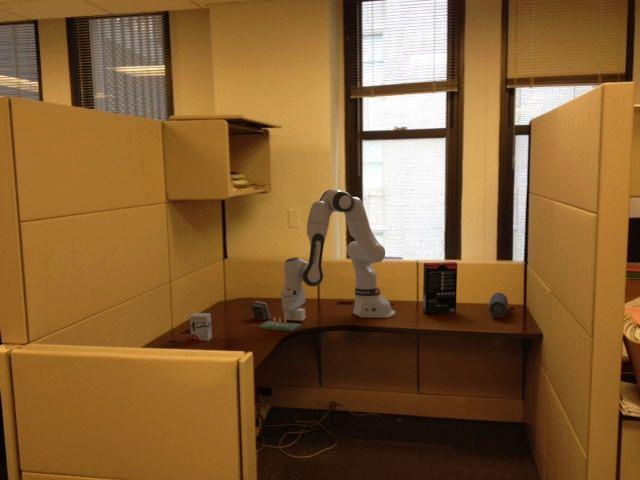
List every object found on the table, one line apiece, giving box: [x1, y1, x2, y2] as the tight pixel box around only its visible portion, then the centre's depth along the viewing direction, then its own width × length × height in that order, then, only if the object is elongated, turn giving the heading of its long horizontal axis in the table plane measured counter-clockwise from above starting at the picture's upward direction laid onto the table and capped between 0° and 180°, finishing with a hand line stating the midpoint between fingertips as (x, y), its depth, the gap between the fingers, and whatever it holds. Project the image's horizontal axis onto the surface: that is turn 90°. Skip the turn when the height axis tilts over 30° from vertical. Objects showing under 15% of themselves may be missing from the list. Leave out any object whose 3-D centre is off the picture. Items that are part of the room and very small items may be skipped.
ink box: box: [189, 312, 213, 342], centre depth 267 cm, size 8×5×12 cm, turn 81°
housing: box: [283, 307, 306, 321], centre depth 295 cm, size 10×5×5 cm, turn 67°
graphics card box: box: [422, 261, 458, 315], centre depth 305 cm, size 17×7×27 cm, turn 98°
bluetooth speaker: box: [488, 292, 509, 318], centre depth 300 cm, size 23×9×10 cm, turn 161°
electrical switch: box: [251, 300, 271, 321], centre depth 302 cm, size 9×5×9 cm, turn 47°
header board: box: [258, 316, 302, 332], centre depth 284 cm, size 18×10×5 cm, turn 67°
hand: (294, 315), depth 295 cm, fingers closed on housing, 5 cm apart
